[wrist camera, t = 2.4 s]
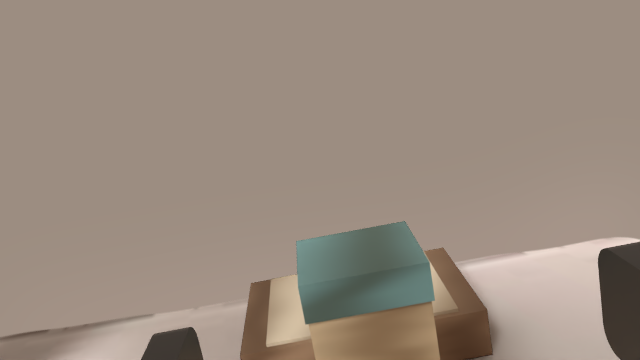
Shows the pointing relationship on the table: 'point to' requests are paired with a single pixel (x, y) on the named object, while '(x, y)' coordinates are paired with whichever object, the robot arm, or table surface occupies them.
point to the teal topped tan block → (368, 295)
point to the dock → (294, 336)
